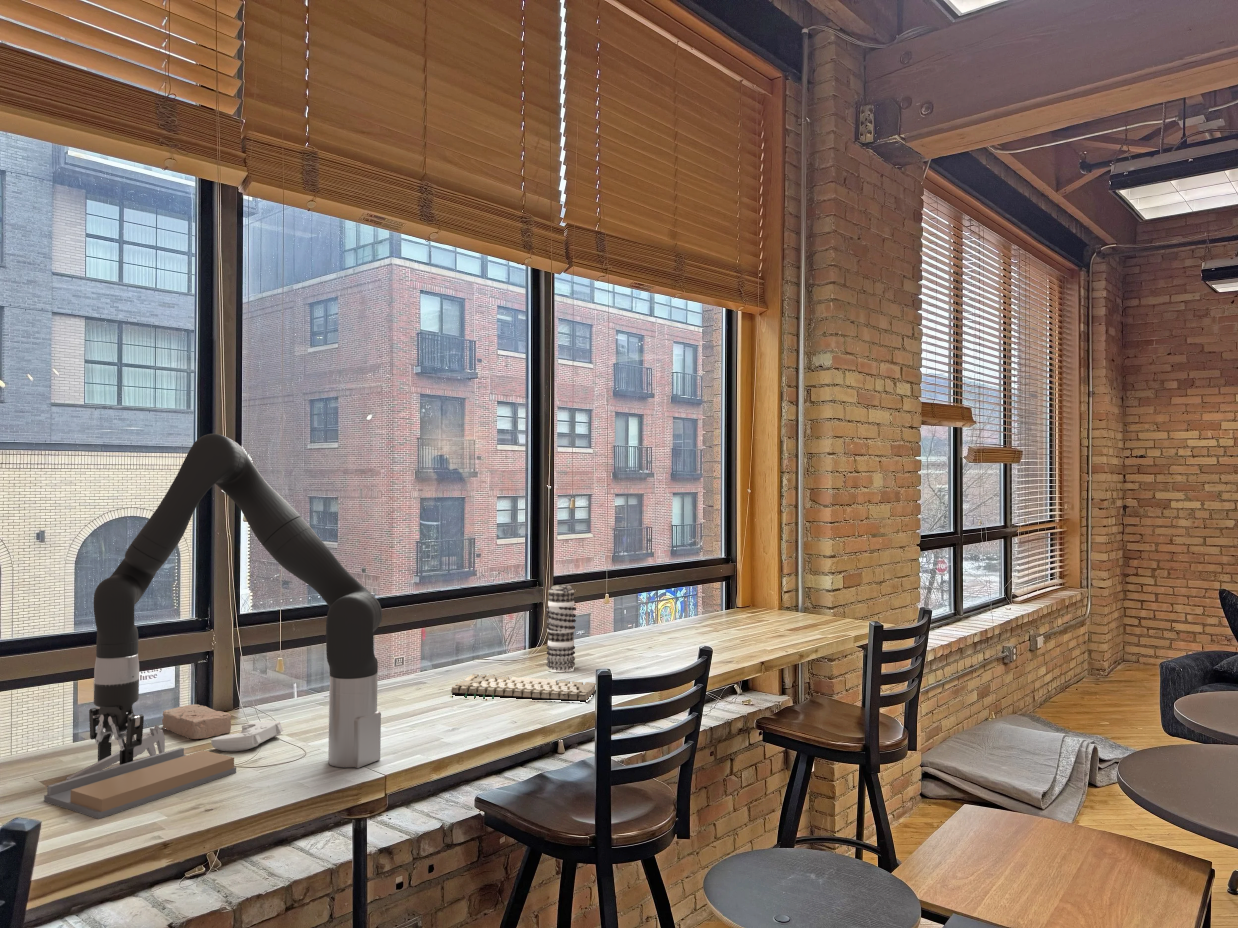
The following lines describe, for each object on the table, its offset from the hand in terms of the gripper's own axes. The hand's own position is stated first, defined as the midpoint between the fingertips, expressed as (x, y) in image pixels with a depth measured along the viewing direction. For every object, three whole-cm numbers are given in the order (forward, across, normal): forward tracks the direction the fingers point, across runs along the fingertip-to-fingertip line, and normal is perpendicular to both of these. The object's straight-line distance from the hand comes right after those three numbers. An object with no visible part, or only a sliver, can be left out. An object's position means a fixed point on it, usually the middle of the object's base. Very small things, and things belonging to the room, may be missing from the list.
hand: (115, 765), depth 165 cm
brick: (+1, +10, -24) cm, 26 cm away
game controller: (+1, -8, -24) cm, 25 cm away
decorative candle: (+1, -27, -118) cm, 121 cm away
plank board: (+1, -14, +3) cm, 14 cm away
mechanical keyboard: (+2, -34, -89) cm, 96 cm away
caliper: (+1, 0, 0) cm, 1 cm away
